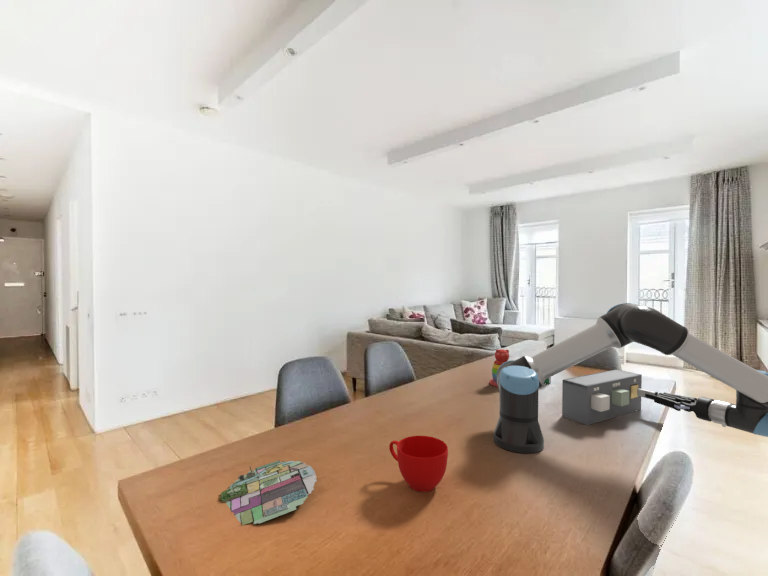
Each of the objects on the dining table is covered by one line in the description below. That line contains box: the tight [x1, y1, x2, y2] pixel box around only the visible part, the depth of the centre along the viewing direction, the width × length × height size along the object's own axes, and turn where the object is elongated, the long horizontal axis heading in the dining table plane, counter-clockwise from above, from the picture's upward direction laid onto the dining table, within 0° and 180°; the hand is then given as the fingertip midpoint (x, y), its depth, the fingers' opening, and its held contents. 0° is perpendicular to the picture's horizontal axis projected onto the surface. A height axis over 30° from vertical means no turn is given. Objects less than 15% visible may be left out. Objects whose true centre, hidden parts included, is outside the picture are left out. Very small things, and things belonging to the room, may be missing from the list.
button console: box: [561, 368, 642, 426], centre depth 147 cm, size 10×34×14 cm, turn 118°
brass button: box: [630, 384, 638, 399], centre depth 150 cm, size 6×5×5 cm
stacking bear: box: [489, 348, 510, 388], centre depth 184 cm, size 11×10×18 cm
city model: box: [219, 459, 318, 526], centre depth 92 cm, size 25×24×6 cm
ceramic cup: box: [388, 435, 449, 493], centre depth 98 cm, size 13×17×10 cm
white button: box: [591, 393, 610, 412], centre depth 136 cm, size 6×5×5 cm
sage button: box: [611, 388, 629, 406], centre depth 142 cm, size 6×5×5 cm
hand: (638, 391), depth 147 cm, fingers closed
